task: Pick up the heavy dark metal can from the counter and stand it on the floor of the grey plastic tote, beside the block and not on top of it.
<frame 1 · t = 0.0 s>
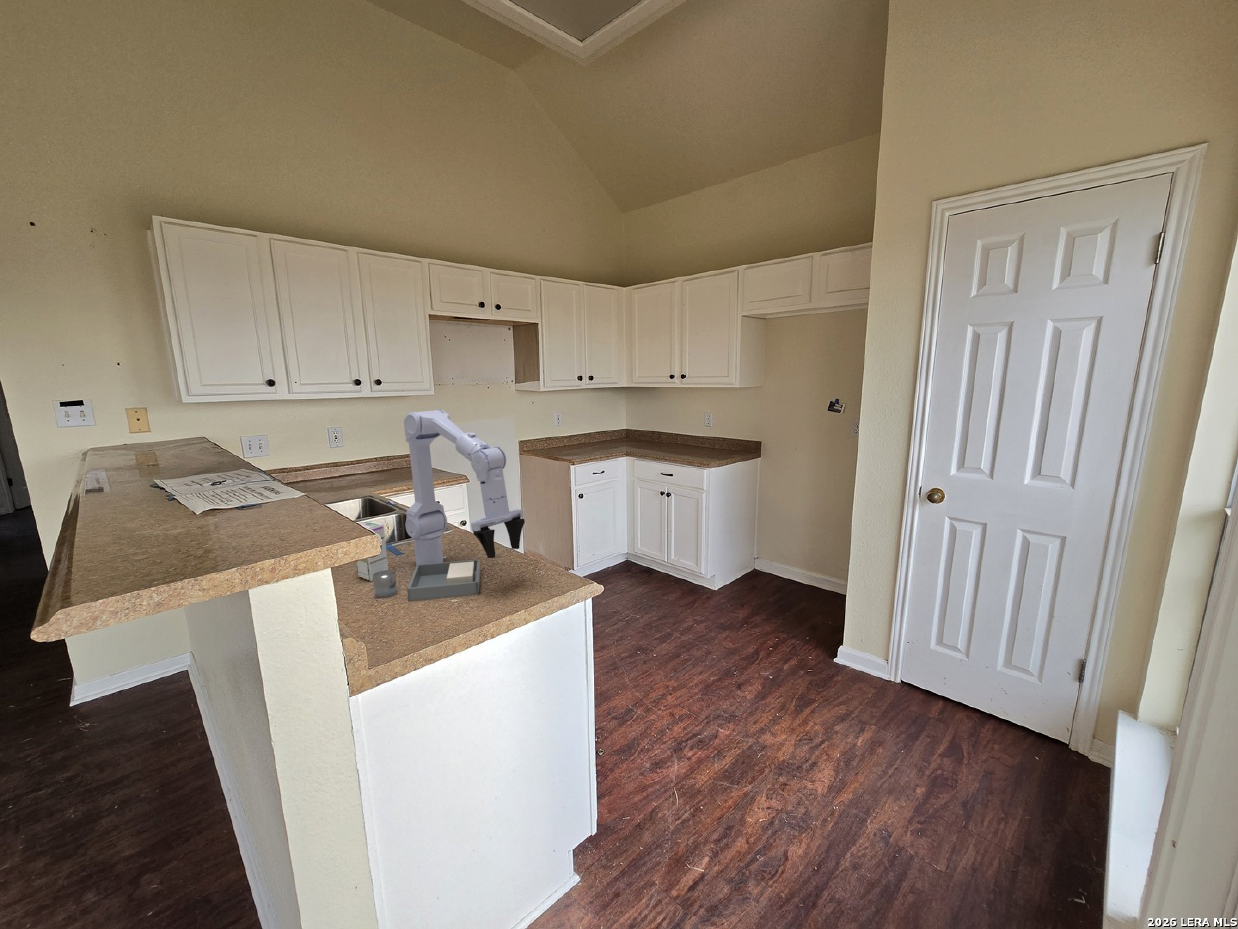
hand: (503, 553, 126), 11 cm above the countertop, tool pointing down, fingers open, 7 cm apart
block: (461, 583, 133), point 1 cm above the countertop, touching tote
tote: (447, 588, 132), on the countertop
metal can: (386, 597, 127), on the countertop
syrup box: (373, 577, 140), on the countertop
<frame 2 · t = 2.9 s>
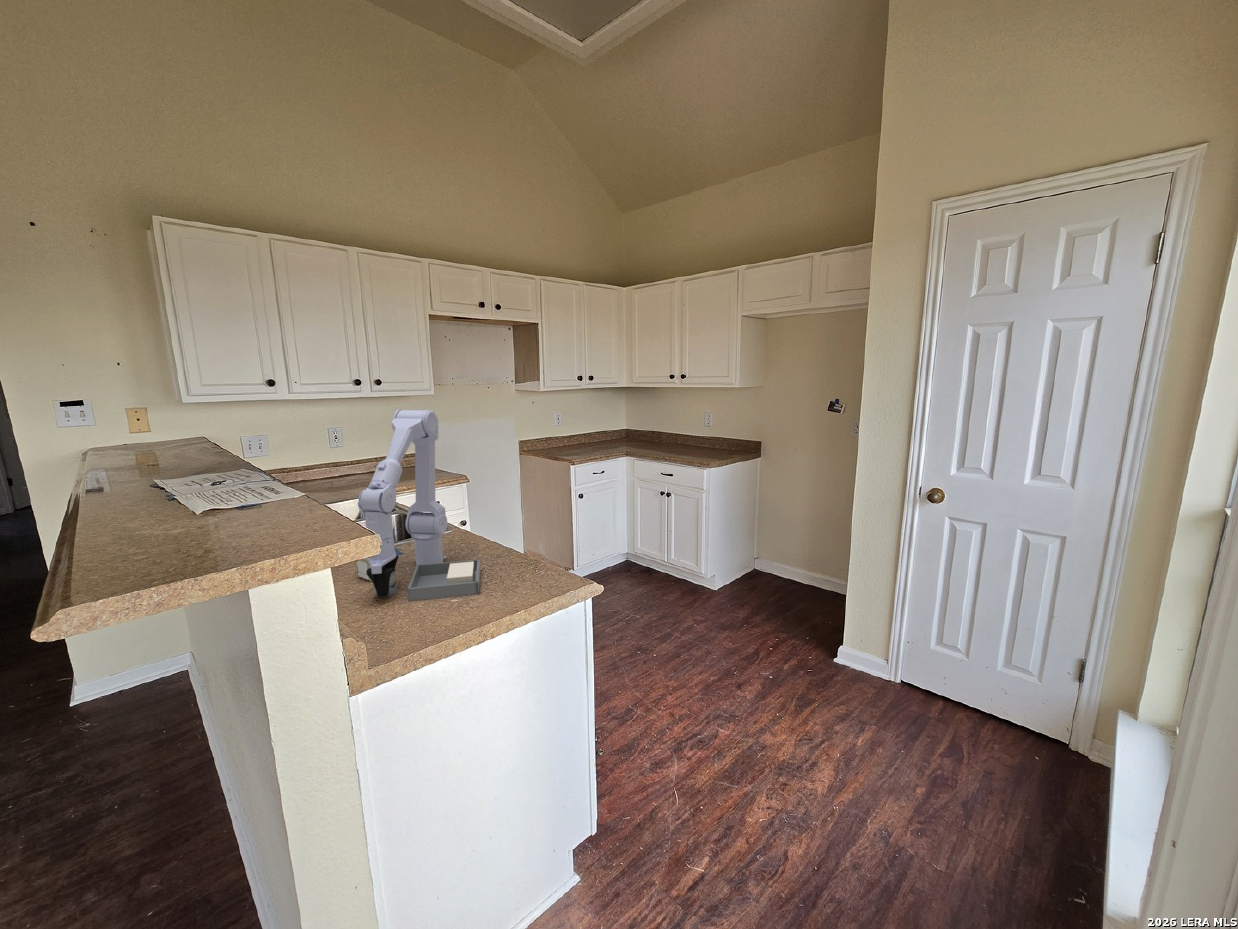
hand: (385, 591, 127), 2 cm above the countertop, tool pointing down, fingers closed on metal can, 5 cm apart
metal can: (386, 597, 127), on the countertop, touching gripper
everything else where it was.
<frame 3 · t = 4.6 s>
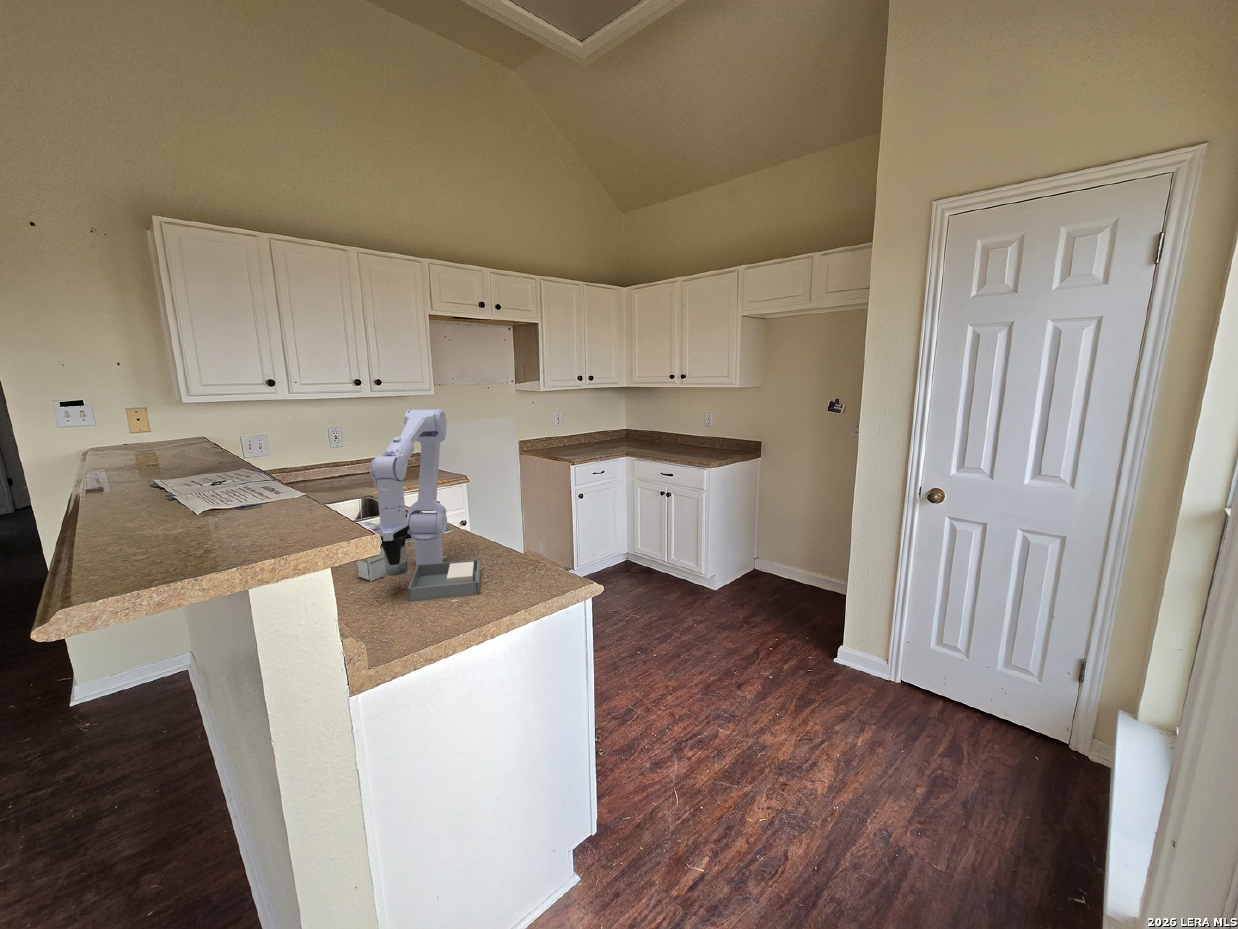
hand: (396, 560, 127), 9 cm above the countertop, tool pointing down, fingers closed on metal can, 5 cm apart
metal can: (396, 571, 127), point 6 cm above the countertop, touching gripper
everything else where it was.
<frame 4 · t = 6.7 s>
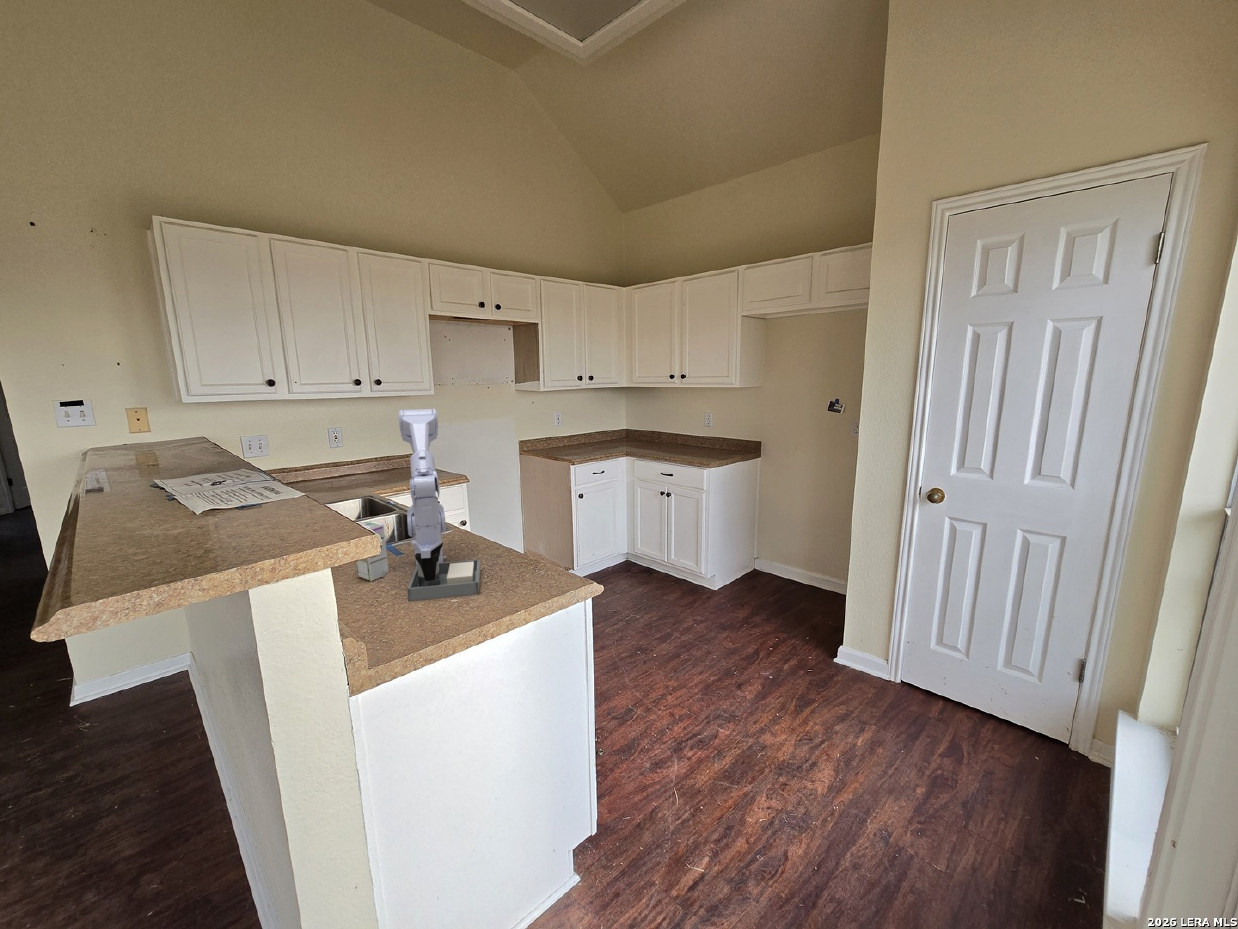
hand: (431, 575, 130), 4 cm above the countertop, tool pointing down, fingers closed on metal can, 5 cm apart
metal can: (429, 586, 131), point 1 cm above the countertop, touching gripper, tote
everything else where it was.
when the fingers open (4 cm above the countertop, at t = 7.2 s): metal can stays where it is, resting on tote.
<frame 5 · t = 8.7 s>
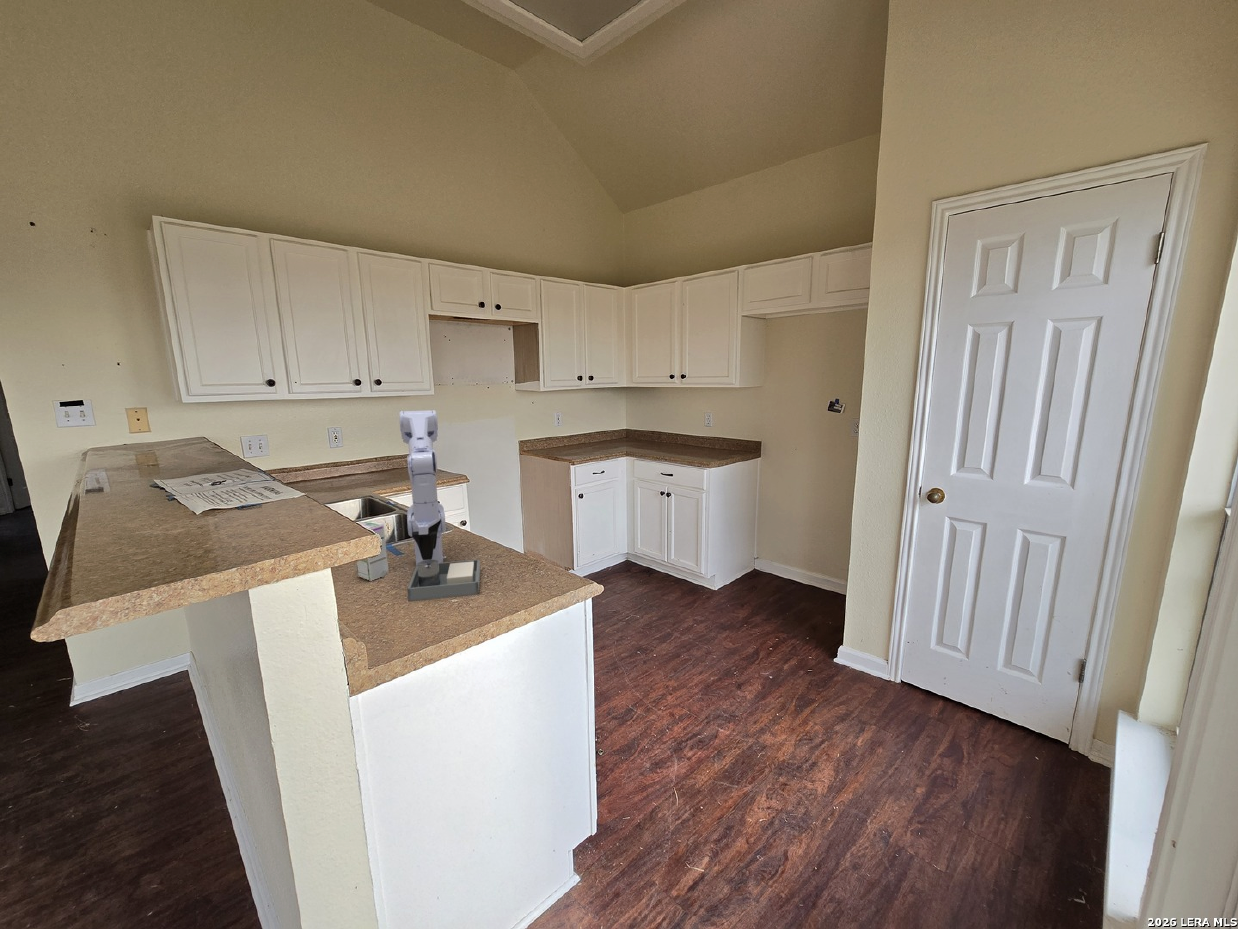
hand: (429, 553, 129), 9 cm above the countertop, tool pointing down, fingers open, 7 cm apart
metal can: (429, 586, 131), point 1 cm above the countertop, touching tote
everything else where it was.
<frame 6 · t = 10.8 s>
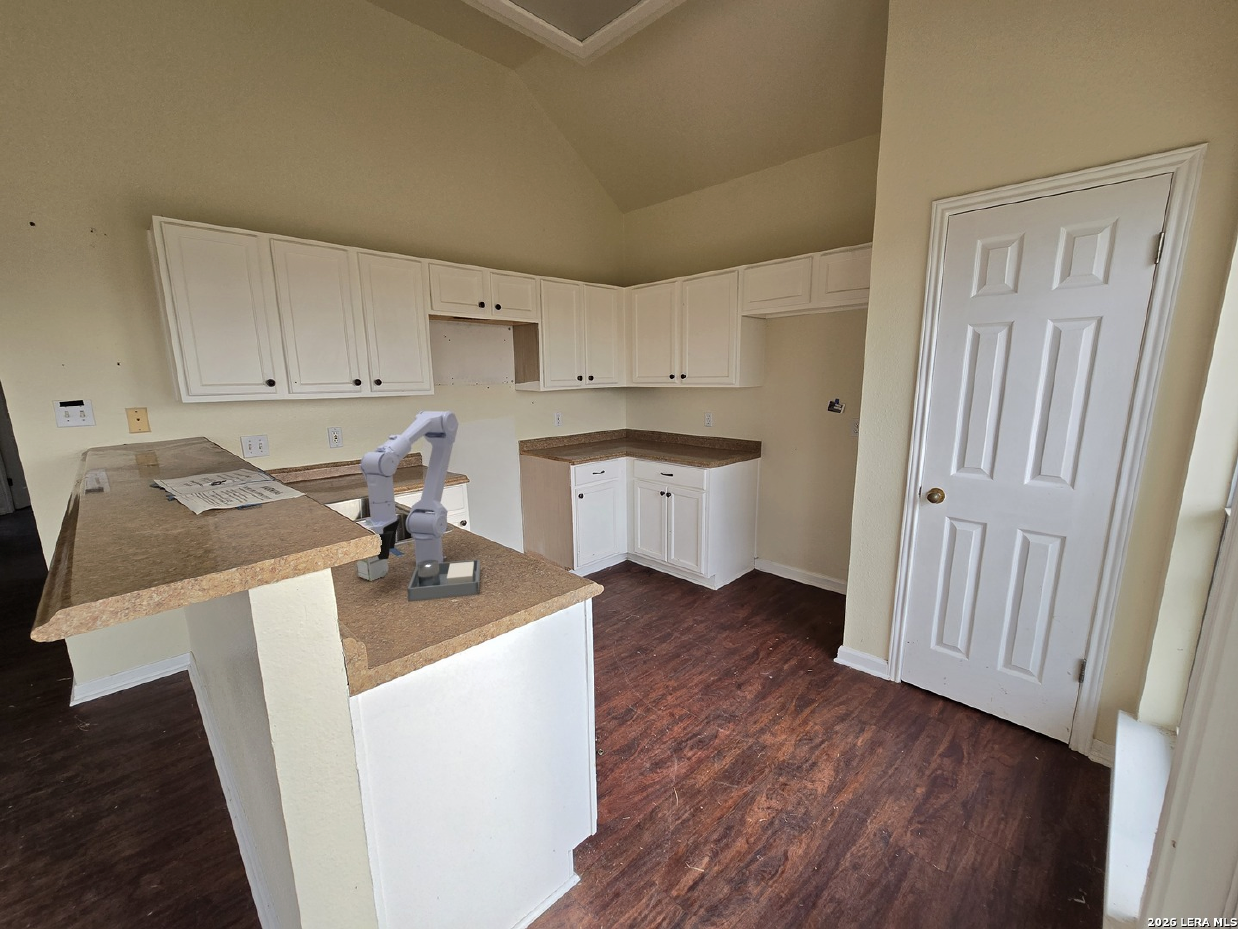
hand: (386, 553, 130), 9 cm above the countertop, tool pointing down, fingers open, 7 cm apart
nothing on the countertop moved.
at the end: metal can inside the target area (0.9 cm from its centre), point 1.0 cm above the countertop; metal can tilted 0°; block moved 0.1 cm from its start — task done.
